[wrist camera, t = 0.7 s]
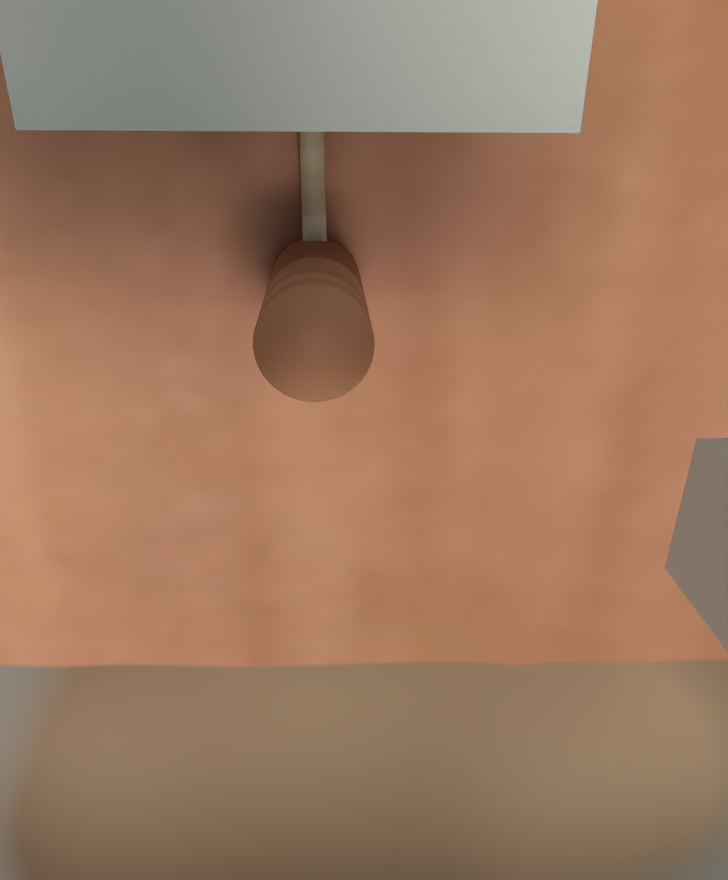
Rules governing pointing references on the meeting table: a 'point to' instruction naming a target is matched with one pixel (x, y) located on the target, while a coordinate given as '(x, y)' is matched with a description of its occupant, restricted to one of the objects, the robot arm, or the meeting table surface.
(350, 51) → the box
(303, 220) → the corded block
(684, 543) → the robot arm
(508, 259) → the meeting table surface
